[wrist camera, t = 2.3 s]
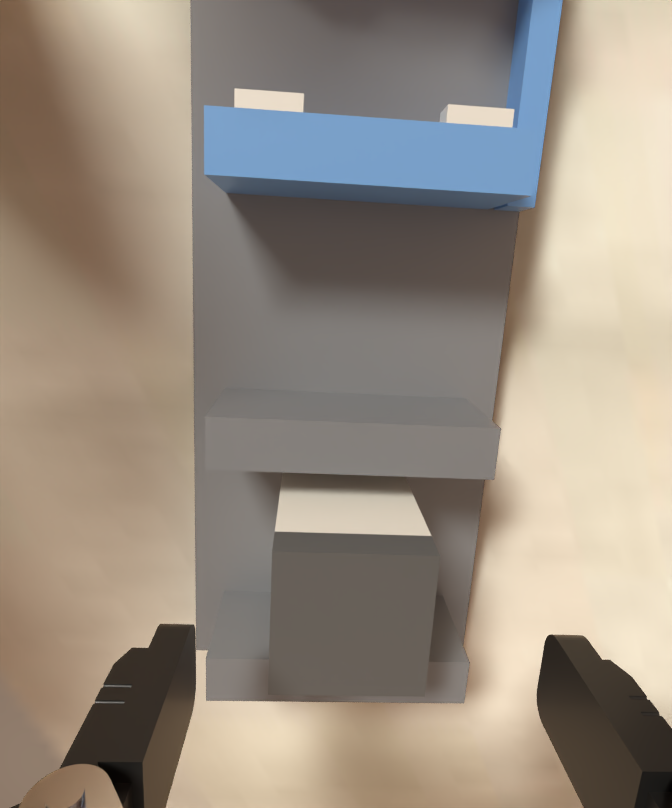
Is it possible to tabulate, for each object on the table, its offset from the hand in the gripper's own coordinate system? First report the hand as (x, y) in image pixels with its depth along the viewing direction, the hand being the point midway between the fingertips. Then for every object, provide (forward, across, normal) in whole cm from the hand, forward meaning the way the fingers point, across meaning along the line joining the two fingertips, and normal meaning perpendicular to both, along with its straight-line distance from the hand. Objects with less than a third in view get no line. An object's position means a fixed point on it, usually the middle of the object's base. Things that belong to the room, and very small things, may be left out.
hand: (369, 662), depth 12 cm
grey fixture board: (+8, 0, -8) cm, 11 cm away
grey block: (+7, 0, 0) cm, 7 cm away
